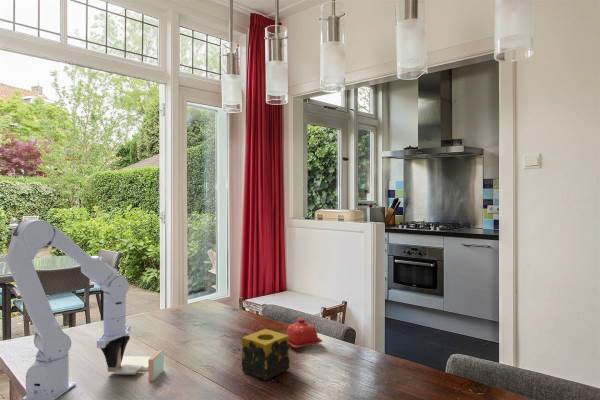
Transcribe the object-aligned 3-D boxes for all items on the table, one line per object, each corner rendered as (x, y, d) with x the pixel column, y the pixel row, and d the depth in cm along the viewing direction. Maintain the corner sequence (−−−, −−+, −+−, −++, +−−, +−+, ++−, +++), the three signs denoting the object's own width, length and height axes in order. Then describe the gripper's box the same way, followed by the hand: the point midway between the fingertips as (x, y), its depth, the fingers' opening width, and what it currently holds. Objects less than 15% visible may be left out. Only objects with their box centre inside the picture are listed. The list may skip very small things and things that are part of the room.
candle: (265, 360, 126) (265, 328, 126) (290, 369, 120) (290, 334, 120) (240, 371, 118) (240, 336, 118) (266, 381, 112) (265, 344, 112)
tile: (153, 381, 112) (153, 359, 112) (148, 381, 112) (148, 359, 112) (163, 371, 119) (163, 350, 119) (159, 370, 119) (159, 350, 119)
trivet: (147, 370, 119) (147, 367, 119) (107, 369, 120) (107, 366, 120) (158, 360, 127) (158, 357, 127) (121, 359, 128) (121, 356, 128)
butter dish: (279, 340, 145) (279, 316, 145) (308, 335, 150) (308, 312, 150) (294, 351, 135) (294, 325, 135) (324, 345, 140) (324, 320, 140)
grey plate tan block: (134, 374, 113) (135, 352, 113) (105, 373, 114) (105, 351, 114) (143, 367, 118) (143, 346, 118) (114, 366, 119) (115, 345, 119)
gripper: (114, 324, 109) (114, 376, 109) (140, 310, 123) (140, 355, 123) (89, 323, 109) (89, 375, 109) (117, 309, 124) (117, 355, 124)
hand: (114, 364), depth 116 cm, fingers closed on grey plate tan block, 2 cm apart
